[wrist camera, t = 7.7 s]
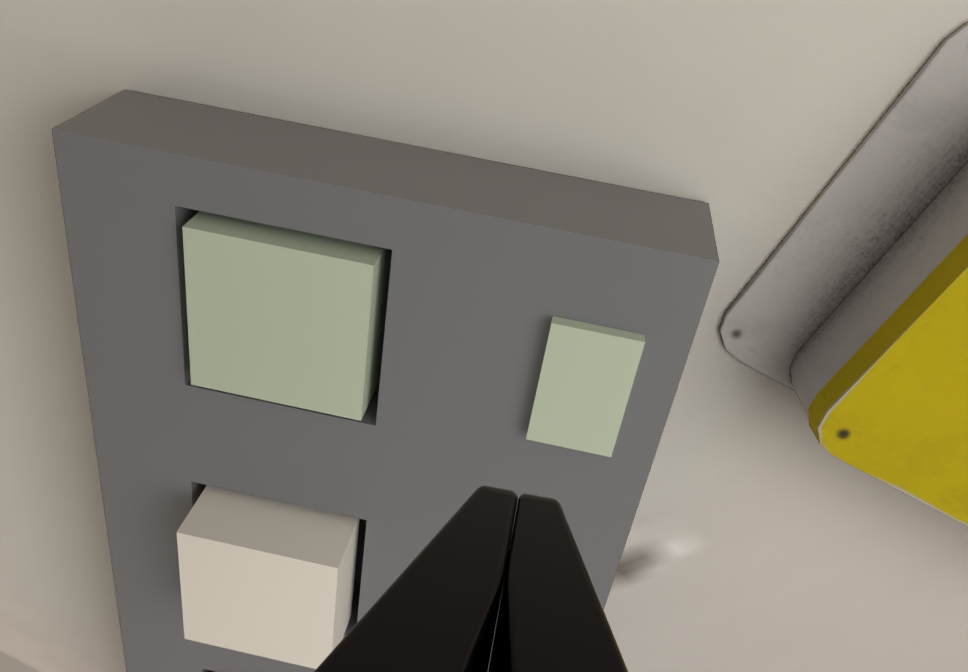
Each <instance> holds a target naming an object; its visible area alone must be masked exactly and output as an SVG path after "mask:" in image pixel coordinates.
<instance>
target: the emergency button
mask: <svg viewBox="0 0 968 672" xmlns="http://www.w3.org/2000/svg"><path fill="white" fill-rule="evenodd" d="M720 333H721V336H722V339H723V342H724V345H725V348H726V350H727V351H728V352H730V353H731V354H732V355H733V356H734V357H735V358H736V359H738V360H739V361H740V362H741V363H743V364H745V365H746V366H748V367H750V368H752V369H754V370H756V371H758V372H760V373H761V374H763V375H765V376H767V377H769V378H771V379H773V380H775V381H776V382H778V383H780V384H782V385H784V386H786V387H788V388H790V389H792V390H793V391H795V392H796V393H797V395H798V397H799V399H800V401H801V403H802V405H803V408H804V410H805V412H806V414H807V416H808V418H809V425H810V427H811V429H812V431H813V432H814V434H815V436H816V438H817V439H818V441H819V443H820V444H821V445H822V446H823V447H824V448H825V449H826V450H827V451H828V452H829V453H830V454H831V455H833V456H835V457H837V458H838V459H840V460H842V461H844V462H846V463H848V464H850V465H852V466H854V467H856V468H857V469H859V470H861V471H863V472H865V473H867V474H869V475H871V476H873V477H875V478H876V479H878V480H880V481H882V482H884V483H886V484H888V485H890V486H892V487H894V488H896V489H897V490H899V491H901V492H903V493H905V494H907V495H909V496H911V497H913V498H915V499H916V500H918V501H920V502H922V503H924V504H926V505H928V506H930V507H932V508H934V509H935V510H937V511H939V512H941V513H943V514H945V515H947V516H949V517H951V518H953V519H954V520H956V521H958V522H960V523H962V524H964V525H966V526H968V22H967V23H966V24H964V25H963V26H962V27H960V28H959V29H958V30H956V31H955V32H954V33H953V34H951V35H950V36H949V37H947V38H946V39H945V40H944V41H943V42H942V44H941V45H940V46H939V47H938V48H937V50H936V51H935V52H934V53H933V55H932V56H931V57H930V58H929V60H928V61H927V62H926V63H925V65H924V66H923V67H922V68H921V70H920V71H919V72H918V73H917V75H916V76H915V77H914V78H913V80H912V81H911V82H910V83H909V85H908V86H907V87H906V88H905V90H904V91H903V92H902V93H901V95H900V96H899V97H898V98H897V100H896V101H895V102H894V103H893V105H892V106H891V107H890V108H889V110H888V111H887V112H886V113H885V114H884V116H883V117H882V118H881V119H880V121H879V122H878V123H877V124H876V126H875V127H874V128H873V129H872V131H871V132H870V133H869V134H868V136H867V137H866V138H865V139H864V141H863V142H862V143H861V144H860V146H859V147H858V148H857V149H856V151H855V152H854V153H853V154H852V156H851V157H850V158H849V159H848V161H847V162H846V163H845V164H844V166H843V167H842V168H841V169H840V171H839V172H838V173H837V174H836V176H835V177H834V178H833V179H832V180H831V182H830V183H829V184H828V185H827V187H826V188H825V189H824V190H823V192H822V193H821V194H820V195H819V197H818V198H817V199H816V200H815V202H814V203H813V204H812V205H811V207H810V208H809V209H808V210H807V212H806V213H805V214H804V215H803V217H802V218H801V219H800V220H799V222H798V223H797V224H796V225H795V227H794V228H793V229H792V230H791V232H790V233H789V234H788V235H787V237H786V238H785V239H784V240H783V242H782V243H781V244H780V245H779V246H778V248H777V249H776V250H775V251H774V253H773V254H772V255H771V256H770V258H769V259H768V260H767V261H766V263H765V264H764V265H763V266H762V268H761V269H760V270H759V271H758V273H757V274H756V275H755V276H754V278H753V279H752V280H751V281H750V283H749V284H748V285H747V286H746V288H745V289H744V290H743V291H742V293H741V294H740V295H739V296H738V298H737V299H736V300H735V301H734V303H733V304H732V305H731V306H730V308H729V309H728V310H727V311H726V313H725V316H724V318H723V321H722V324H721V326H720Z"/></svg>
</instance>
